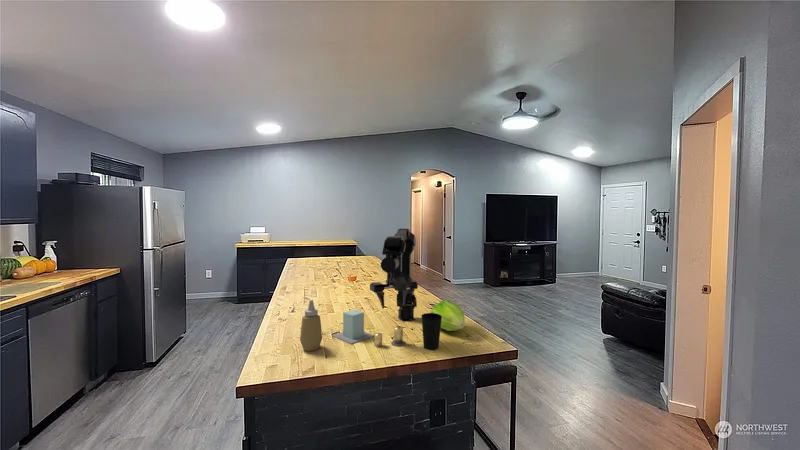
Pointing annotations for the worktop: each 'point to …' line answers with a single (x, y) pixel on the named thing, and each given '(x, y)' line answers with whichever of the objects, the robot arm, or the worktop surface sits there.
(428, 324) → the cup
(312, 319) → the squeeze bottle
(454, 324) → the lettuce
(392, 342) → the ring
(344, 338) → the mat
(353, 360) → the worktop surface
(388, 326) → the worktop surface
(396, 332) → the peg
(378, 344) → the pin
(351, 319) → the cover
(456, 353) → the worktop surface
